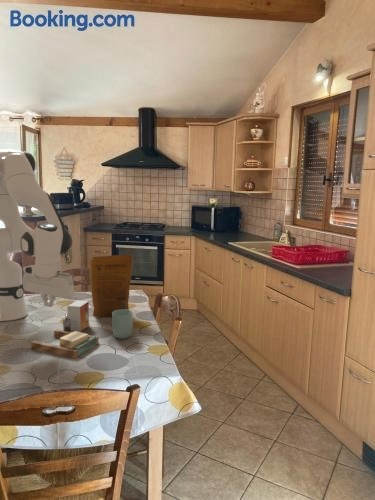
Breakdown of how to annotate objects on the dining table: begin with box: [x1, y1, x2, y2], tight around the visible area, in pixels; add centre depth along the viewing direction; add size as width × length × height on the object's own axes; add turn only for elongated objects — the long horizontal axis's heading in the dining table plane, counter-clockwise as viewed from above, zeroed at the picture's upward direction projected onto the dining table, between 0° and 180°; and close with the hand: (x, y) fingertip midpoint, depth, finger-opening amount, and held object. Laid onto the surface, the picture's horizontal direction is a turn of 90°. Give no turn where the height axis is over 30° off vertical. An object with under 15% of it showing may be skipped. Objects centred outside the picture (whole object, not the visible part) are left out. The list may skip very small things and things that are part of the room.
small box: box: [67, 300, 90, 332], centre depth 161 cm, size 8×6×10 cm
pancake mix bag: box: [88, 254, 134, 318], centre depth 175 cm, size 7×19×28 cm, turn 105°
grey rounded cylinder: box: [62, 313, 74, 332], centre depth 154 cm, size 3×3×8 cm
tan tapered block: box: [59, 331, 89, 349], centre depth 141 cm, size 6×8×5 cm
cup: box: [111, 309, 134, 340], centre depth 153 cm, size 8×8×10 cm
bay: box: [30, 328, 99, 359], centre depth 143 cm, size 19×14×3 cm
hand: (48, 305), depth 144 cm, fingers closed
